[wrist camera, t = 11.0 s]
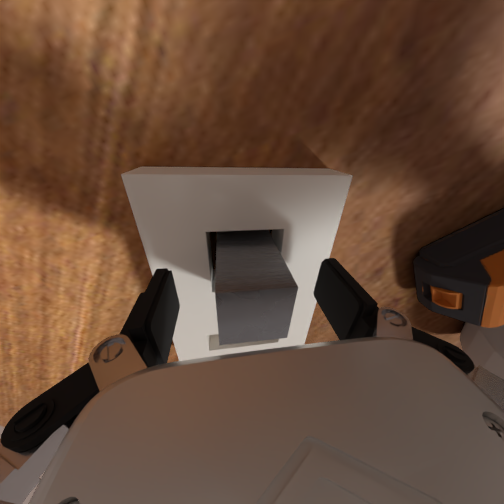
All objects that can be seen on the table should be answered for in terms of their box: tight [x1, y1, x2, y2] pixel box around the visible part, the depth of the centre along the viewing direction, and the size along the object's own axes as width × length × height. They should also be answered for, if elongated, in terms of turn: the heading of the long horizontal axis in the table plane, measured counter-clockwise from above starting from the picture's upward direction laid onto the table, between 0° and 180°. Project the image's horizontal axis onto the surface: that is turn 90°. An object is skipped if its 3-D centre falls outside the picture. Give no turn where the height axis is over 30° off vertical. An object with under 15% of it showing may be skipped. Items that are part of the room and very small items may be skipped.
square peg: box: [215, 230, 298, 345], centre depth 13 cm, size 4×4×8 cm
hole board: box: [121, 167, 353, 361], centre depth 17 cm, size 20×13×3 cm, turn 178°
